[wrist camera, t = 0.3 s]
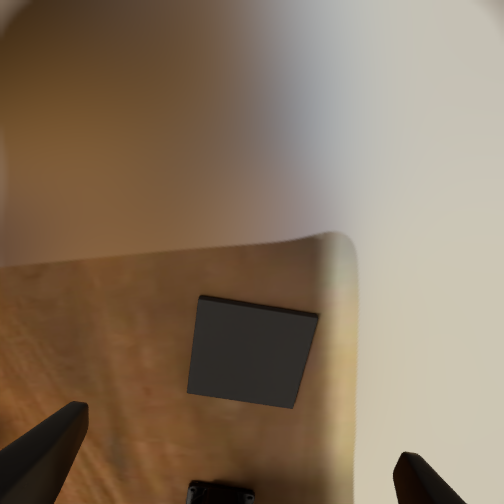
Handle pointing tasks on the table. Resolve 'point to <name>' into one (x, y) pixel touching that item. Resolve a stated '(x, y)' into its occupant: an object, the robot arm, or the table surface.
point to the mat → (249, 352)
